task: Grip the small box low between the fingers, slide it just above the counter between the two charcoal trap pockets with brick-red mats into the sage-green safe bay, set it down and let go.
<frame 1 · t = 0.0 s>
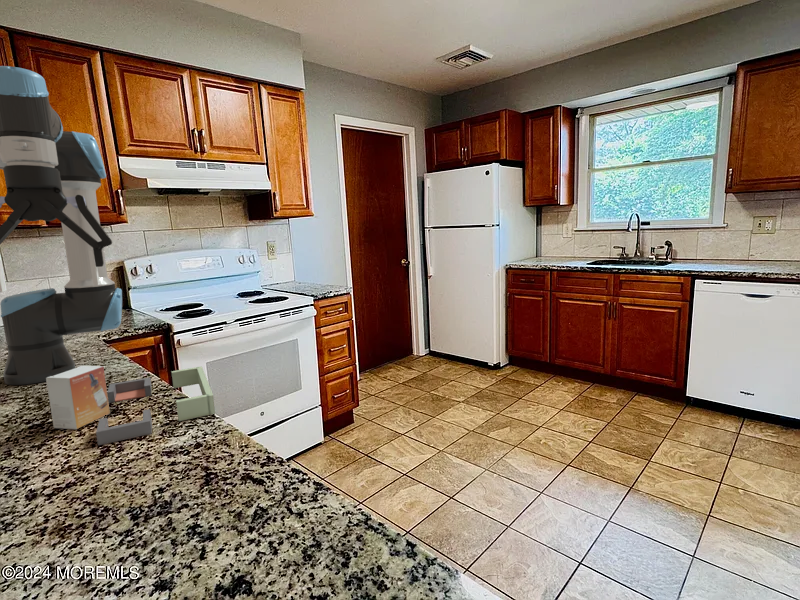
hand: (51, 288, 79), 28 cm above the counter, fingers open, 13 cm apart
small box: (83, 421, 89), on the counter
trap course: (139, 409, 94), on the counter
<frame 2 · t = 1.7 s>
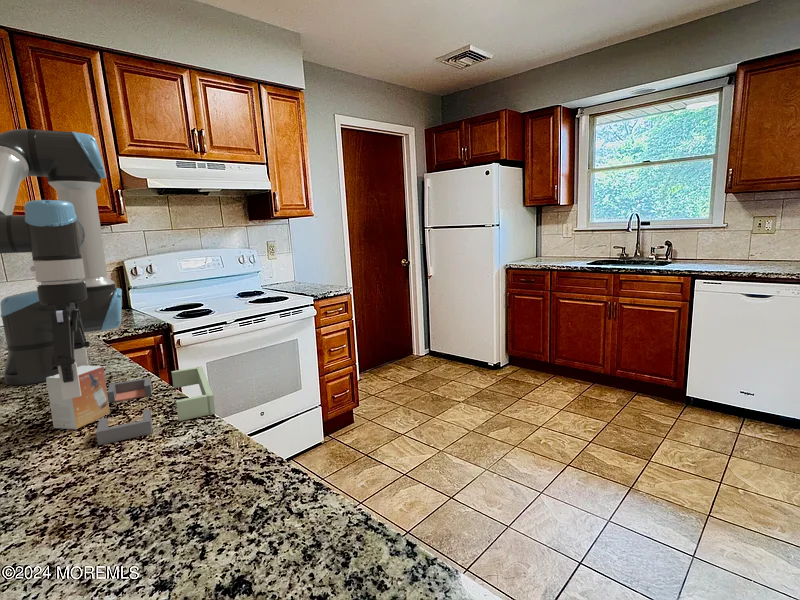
hand: (77, 387, 87), 7 cm above the counter, fingers open, 13 cm apart
nothing on the counter moved.
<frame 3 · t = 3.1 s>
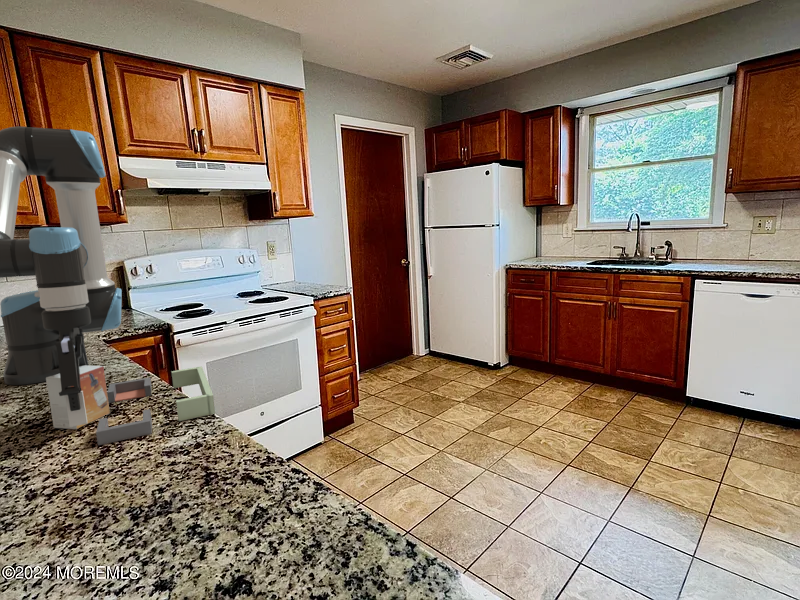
hand: (82, 415, 89), 1 cm above the counter, fingers closed on small box, 9 cm apart
small box: (83, 421, 89), on the counter, touching gripper
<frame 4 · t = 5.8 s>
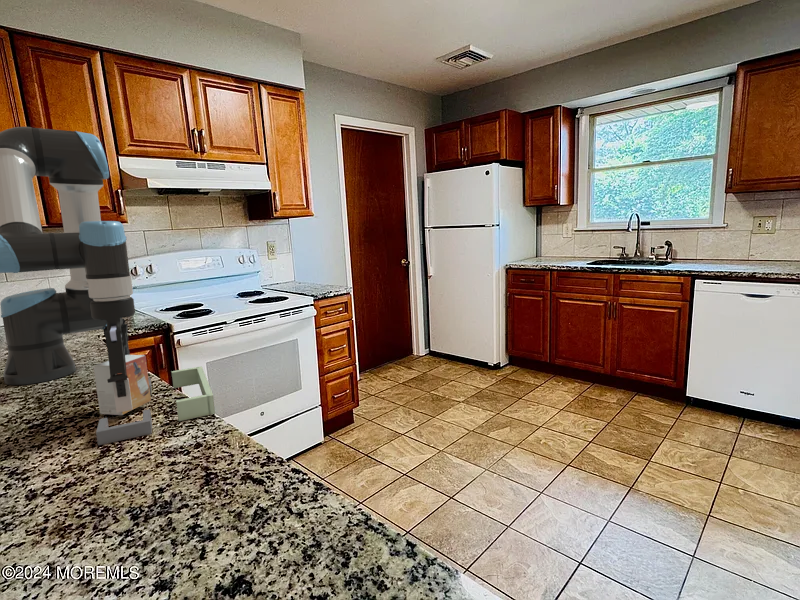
hand: (126, 402, 92), 2 cm above the counter, fingers closed on small box, 9 cm apart
small box: (126, 408, 92), point 1 cm above the counter, touching gripper
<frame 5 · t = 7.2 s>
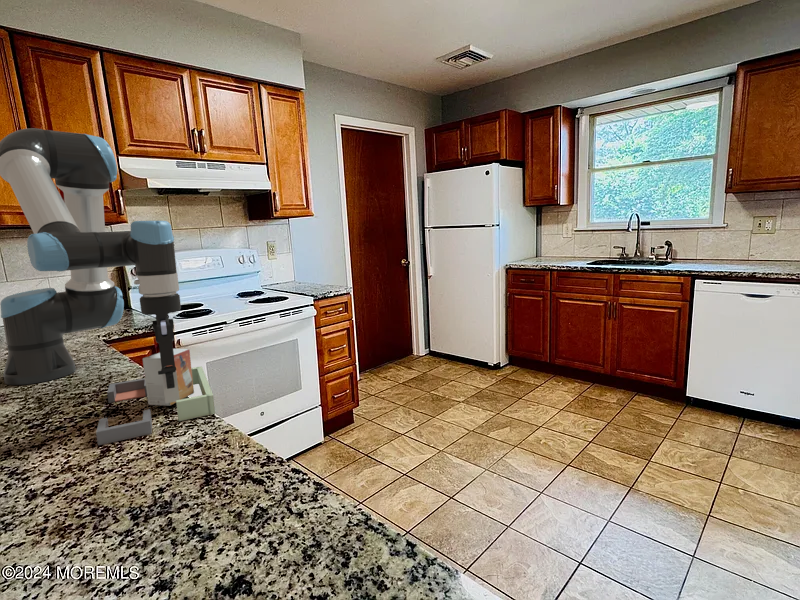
hand: (171, 394, 96), 2 cm above the counter, fingers closed on small box, 9 cm apart
small box: (172, 399, 96), point 1 cm above the counter, touching gripper
when the fingers open (1 cm above the counter, at t = 8.3 s): small box stays where it is, on the counter.
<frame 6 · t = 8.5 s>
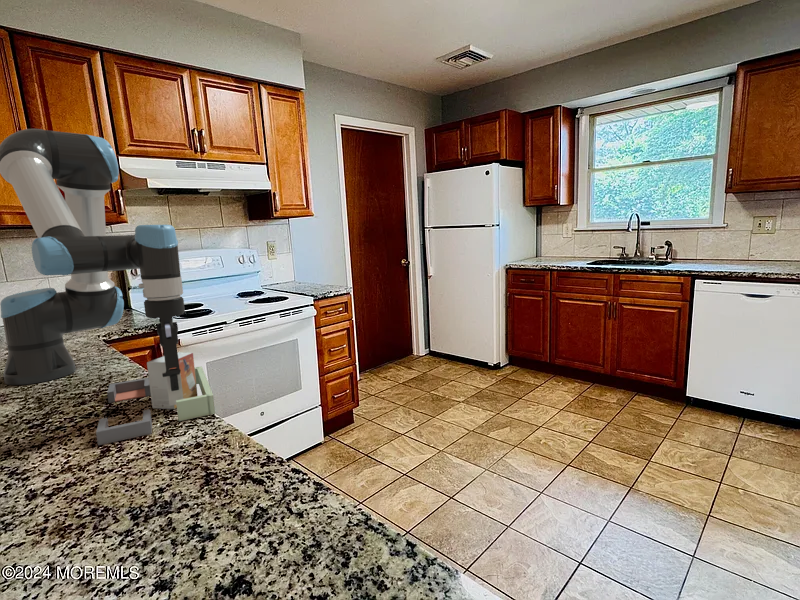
hand: (175, 395, 97), 2 cm above the counter, fingers open, 11 cm apart
small box: (176, 403, 97), on the counter
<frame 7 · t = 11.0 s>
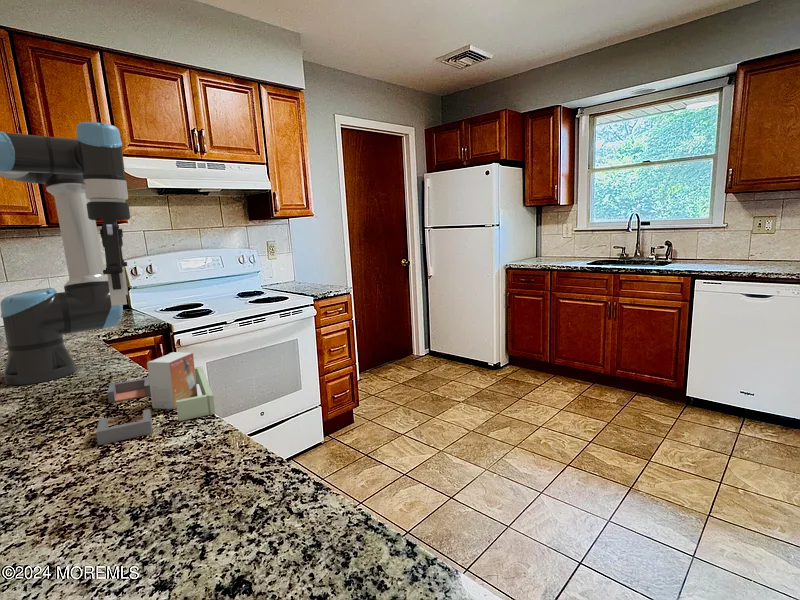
hand: (120, 299, 96), 23 cm above the counter, fingers open, 13 cm apart
nothing on the counter moved.
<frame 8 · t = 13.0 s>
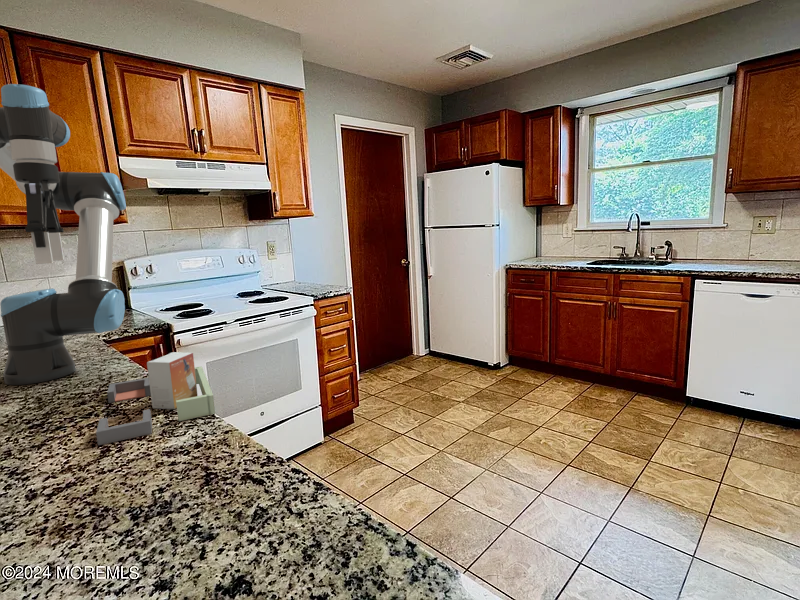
hand: (51, 262, 97), 32 cm above the counter, fingers open, 13 cm apart
nothing on the counter moved.
at the end: small box inside the target area (1.0 cm from its centre), on the counter; small box tilted 0°; the gripper is holding nothing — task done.
